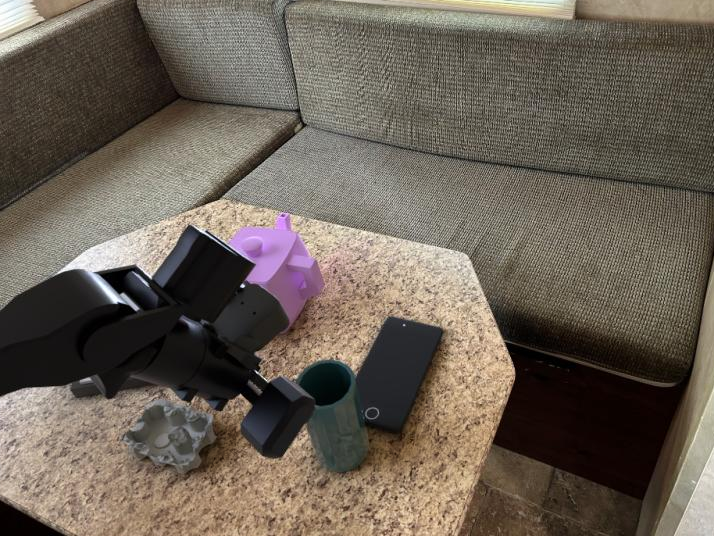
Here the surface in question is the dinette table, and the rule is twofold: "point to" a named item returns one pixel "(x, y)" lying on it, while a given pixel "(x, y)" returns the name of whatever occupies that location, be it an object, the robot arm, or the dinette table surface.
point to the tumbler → (335, 415)
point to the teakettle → (281, 264)
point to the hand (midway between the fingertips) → (282, 393)
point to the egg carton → (170, 435)
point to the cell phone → (395, 372)
